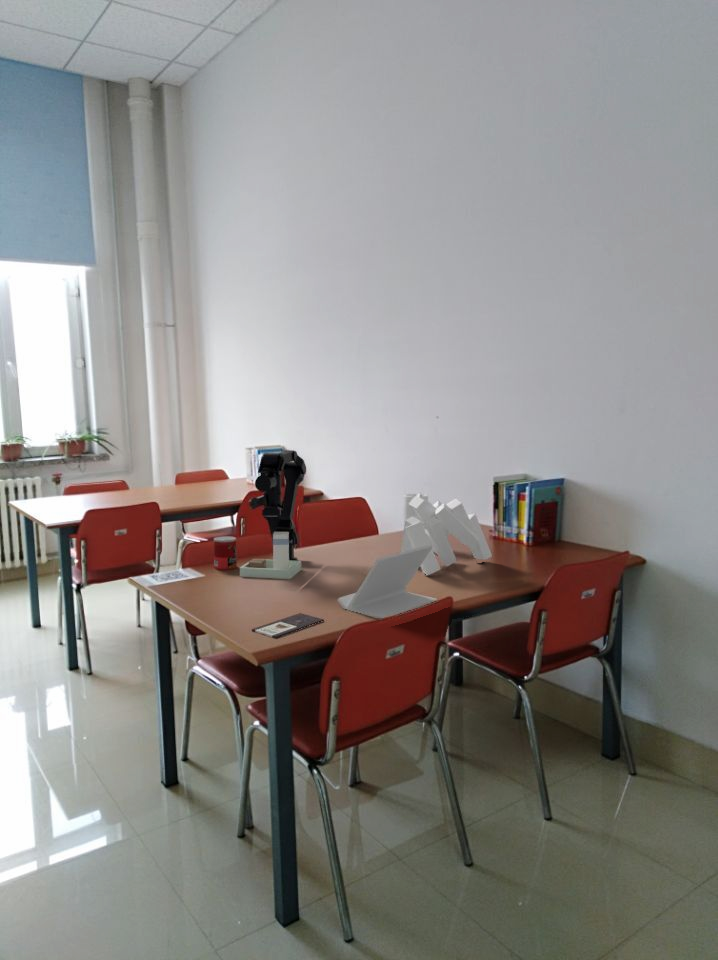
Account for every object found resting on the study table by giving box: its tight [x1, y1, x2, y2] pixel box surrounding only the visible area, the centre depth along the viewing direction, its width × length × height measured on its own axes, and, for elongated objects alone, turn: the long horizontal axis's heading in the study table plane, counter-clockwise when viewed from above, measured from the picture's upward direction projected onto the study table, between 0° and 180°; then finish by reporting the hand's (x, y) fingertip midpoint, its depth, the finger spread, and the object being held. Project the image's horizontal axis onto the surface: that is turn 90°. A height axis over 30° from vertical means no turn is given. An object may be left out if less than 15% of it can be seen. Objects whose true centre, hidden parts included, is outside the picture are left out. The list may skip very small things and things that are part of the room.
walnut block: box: [248, 558, 267, 568], centre depth 246 cm, size 5×4×4 cm
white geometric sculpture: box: [400, 492, 493, 576], centre depth 254 cm, size 35×30×35 cm
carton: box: [272, 532, 289, 569], centre depth 243 cm, size 5×5×14 cm
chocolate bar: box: [251, 612, 325, 639], centre depth 189 cm, size 9×1×18 cm
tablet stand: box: [337, 545, 438, 619], centre depth 209 cm, size 18×25×17 cm
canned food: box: [213, 535, 238, 571], centre depth 252 cm, size 8×8×11 cm
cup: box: [403, 493, 429, 529], centre depth 287 cm, size 10×10×22 cm
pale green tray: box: [239, 558, 302, 580], centre depth 245 cm, size 14×18×4 cm
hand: (273, 532), depth 253 cm, fingers open, 9 cm apart
